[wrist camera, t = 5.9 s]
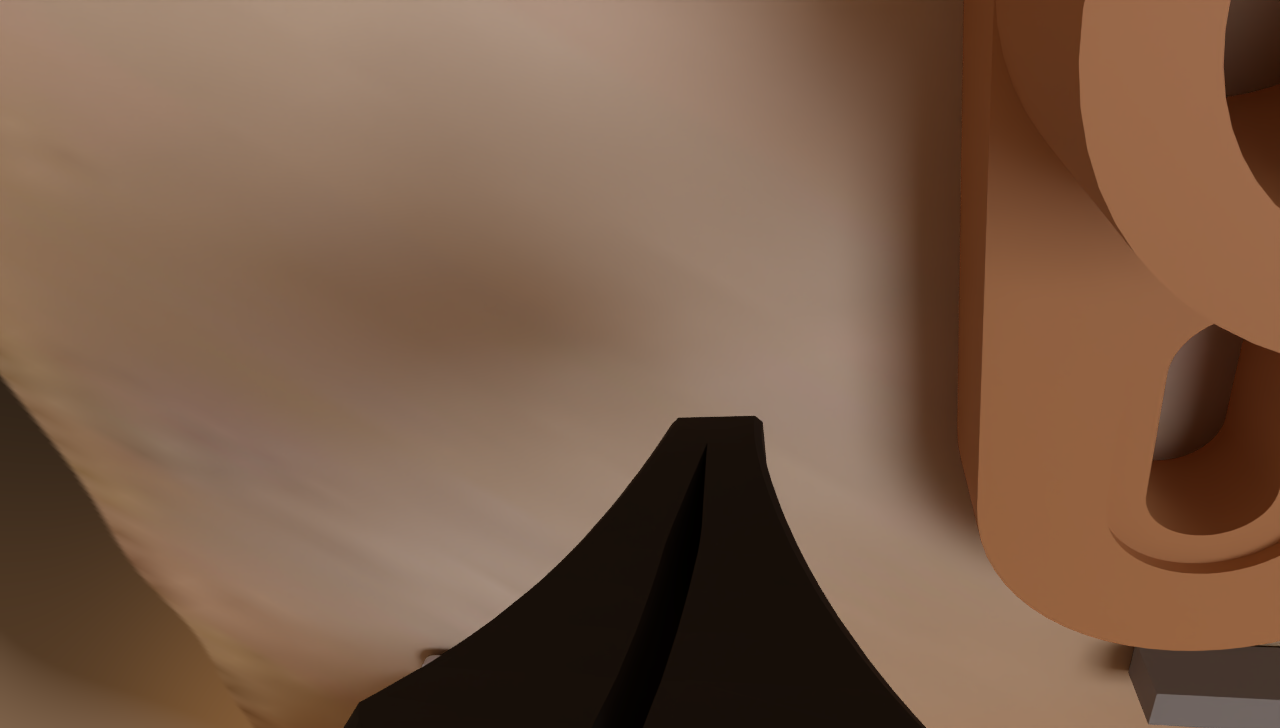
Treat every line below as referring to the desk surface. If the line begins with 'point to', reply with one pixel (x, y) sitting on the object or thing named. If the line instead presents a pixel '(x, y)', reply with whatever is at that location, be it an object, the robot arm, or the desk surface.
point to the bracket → (1118, 317)
